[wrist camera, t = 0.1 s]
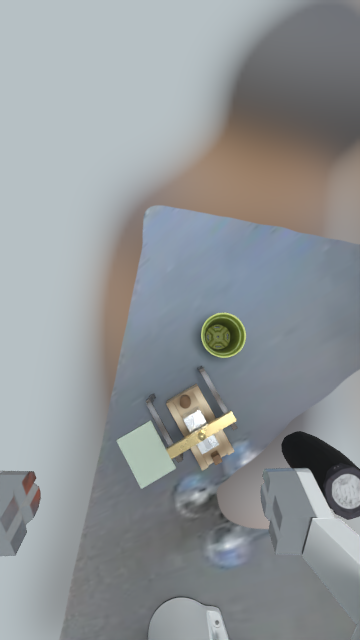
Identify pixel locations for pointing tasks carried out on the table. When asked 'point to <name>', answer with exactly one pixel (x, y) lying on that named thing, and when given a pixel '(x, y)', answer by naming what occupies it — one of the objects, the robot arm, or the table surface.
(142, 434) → the sage mat
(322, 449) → the portable speaker
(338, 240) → the table surface
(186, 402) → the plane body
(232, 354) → the plant pot
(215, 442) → the grey block with handle
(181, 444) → the brass bolt
